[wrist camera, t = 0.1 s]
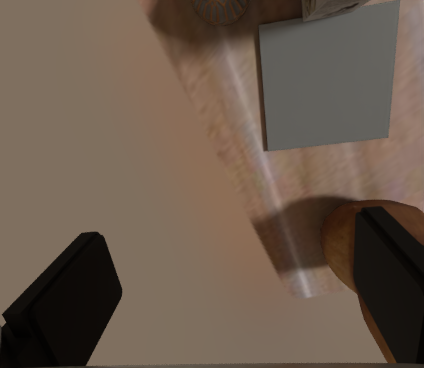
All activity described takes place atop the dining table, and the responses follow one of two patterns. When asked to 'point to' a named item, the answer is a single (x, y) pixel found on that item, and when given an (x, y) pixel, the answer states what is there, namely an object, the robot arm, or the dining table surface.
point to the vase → (220, 10)
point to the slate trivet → (329, 77)
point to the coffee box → (328, 8)
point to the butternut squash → (344, 247)
